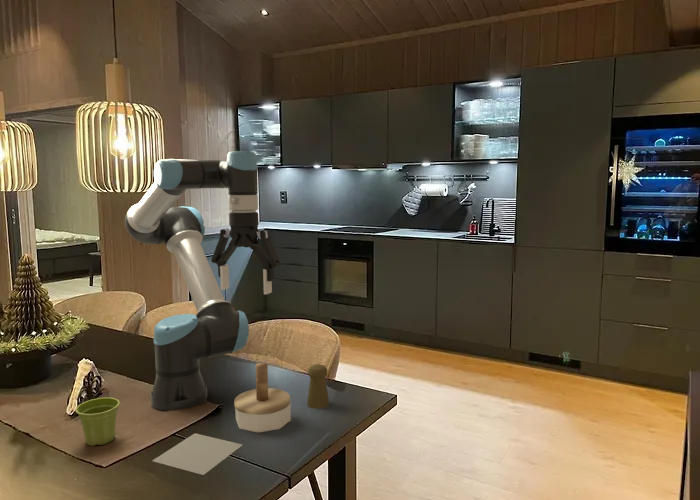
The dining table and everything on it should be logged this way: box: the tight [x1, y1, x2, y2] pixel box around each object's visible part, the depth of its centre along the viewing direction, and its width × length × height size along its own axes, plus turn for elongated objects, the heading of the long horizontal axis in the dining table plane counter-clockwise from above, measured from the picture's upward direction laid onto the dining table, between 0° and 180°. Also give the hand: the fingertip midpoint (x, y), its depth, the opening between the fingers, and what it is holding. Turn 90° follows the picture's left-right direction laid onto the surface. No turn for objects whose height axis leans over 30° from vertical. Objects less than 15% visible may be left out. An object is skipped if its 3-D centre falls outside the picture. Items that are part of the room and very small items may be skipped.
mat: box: [152, 432, 243, 476], centre depth 121 cm, size 14×14×1 cm
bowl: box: [234, 403, 292, 433], centre depth 137 cm, size 13×13×5 cm
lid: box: [233, 362, 291, 415], centre depth 136 cm, size 14×14×10 cm
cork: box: [306, 363, 330, 410], centre depth 147 cm, size 6×6×11 cm
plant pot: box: [75, 397, 121, 446], centre depth 128 cm, size 9×9×9 cm
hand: (246, 291), depth 144 cm, fingers open, 13 cm apart
